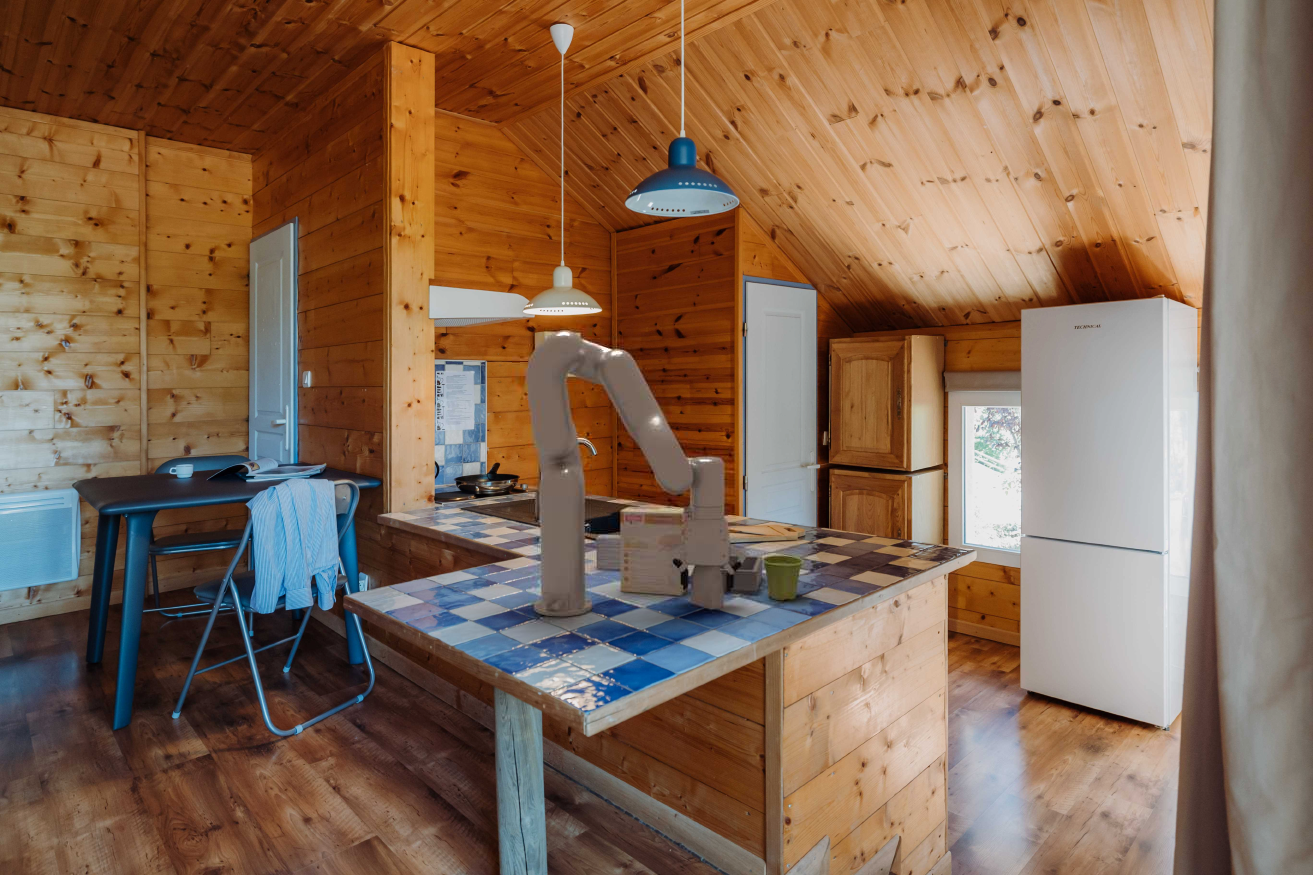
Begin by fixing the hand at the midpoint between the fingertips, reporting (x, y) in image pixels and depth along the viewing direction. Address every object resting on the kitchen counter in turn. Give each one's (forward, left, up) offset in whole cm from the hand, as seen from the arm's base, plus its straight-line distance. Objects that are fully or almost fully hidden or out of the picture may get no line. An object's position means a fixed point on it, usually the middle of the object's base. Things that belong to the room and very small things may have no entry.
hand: (707, 589), depth 165 cm
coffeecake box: (+9, +14, -4) cm, 17 cm away
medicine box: (+28, +30, -4) cm, 41 cm away
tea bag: (0, 0, -4) cm, 4 cm away
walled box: (+18, -3, -3) cm, 19 cm away
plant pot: (+10, -16, -4) cm, 19 cm away
